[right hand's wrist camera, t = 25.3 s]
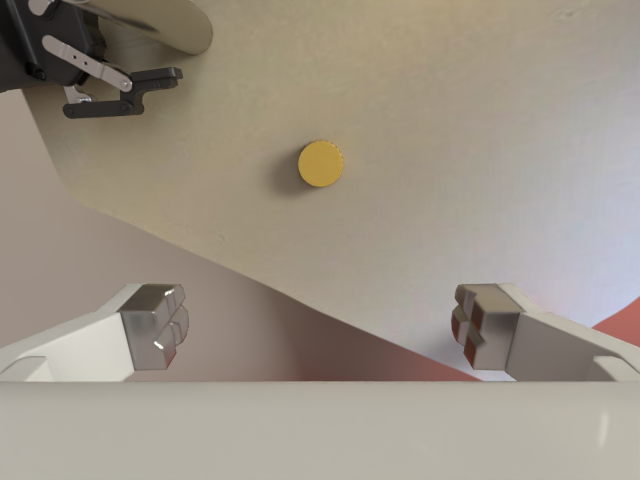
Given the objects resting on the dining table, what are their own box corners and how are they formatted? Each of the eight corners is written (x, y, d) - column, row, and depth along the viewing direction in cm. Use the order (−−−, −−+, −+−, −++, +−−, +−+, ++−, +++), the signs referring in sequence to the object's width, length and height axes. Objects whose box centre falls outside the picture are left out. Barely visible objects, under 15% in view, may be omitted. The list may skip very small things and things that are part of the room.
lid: (338, 187, 39) (339, 190, 38) (295, 180, 39) (294, 184, 37) (346, 143, 38) (347, 145, 36) (301, 136, 37) (300, 137, 36)
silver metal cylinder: (165, 9, 33) (-23, -113, 15) (207, 3, 33) (69, -127, 15) (176, 57, 35) (18, 0, 16) (217, 51, 34) (102, -12, 16)
